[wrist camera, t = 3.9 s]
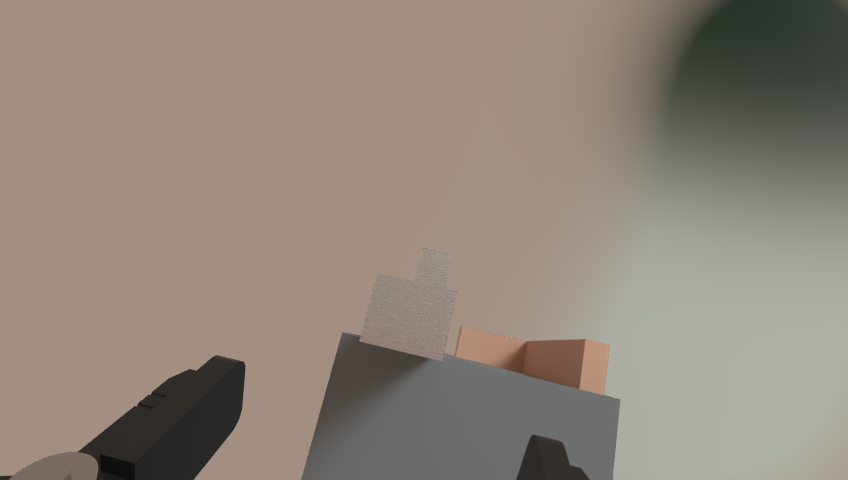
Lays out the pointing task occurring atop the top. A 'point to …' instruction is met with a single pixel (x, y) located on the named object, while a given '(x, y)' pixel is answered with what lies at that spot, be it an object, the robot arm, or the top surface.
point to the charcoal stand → (462, 410)
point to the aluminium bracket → (412, 309)
